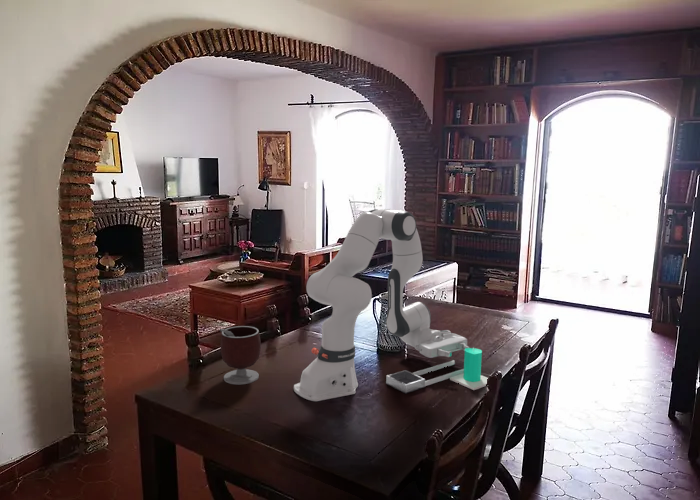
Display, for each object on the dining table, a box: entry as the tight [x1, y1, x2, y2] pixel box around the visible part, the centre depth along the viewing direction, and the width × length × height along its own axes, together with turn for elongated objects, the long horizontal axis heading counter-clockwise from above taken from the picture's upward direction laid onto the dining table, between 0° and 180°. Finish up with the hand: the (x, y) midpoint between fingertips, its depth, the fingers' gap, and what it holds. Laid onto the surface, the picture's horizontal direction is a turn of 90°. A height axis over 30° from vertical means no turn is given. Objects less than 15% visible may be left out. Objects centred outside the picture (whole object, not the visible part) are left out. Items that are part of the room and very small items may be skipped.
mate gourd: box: [219, 325, 262, 386], centre depth 192 cm, size 16×14×20 cm
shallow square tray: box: [385, 369, 426, 394], centre depth 189 cm, size 9×10×3 cm
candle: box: [463, 346, 483, 382], centre depth 193 cm, size 6×6×12 cm
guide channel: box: [412, 359, 464, 387], centre depth 199 cm, size 24×9×2 cm, turn 127°
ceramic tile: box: [449, 373, 489, 391], centre depth 194 cm, size 11×11×1 cm
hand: (459, 352), depth 197 cm, fingers open, 8 cm apart
